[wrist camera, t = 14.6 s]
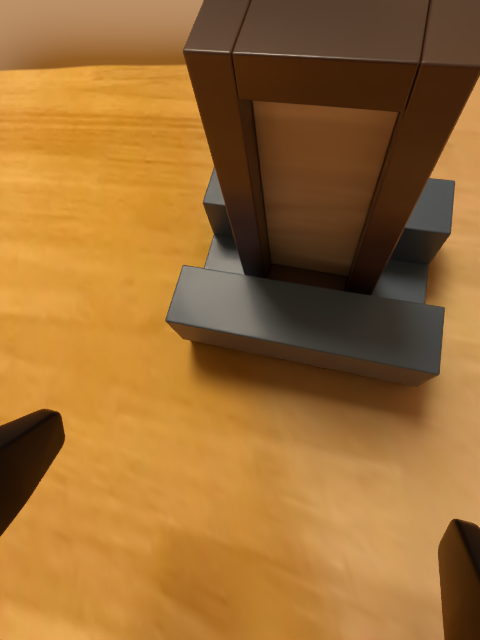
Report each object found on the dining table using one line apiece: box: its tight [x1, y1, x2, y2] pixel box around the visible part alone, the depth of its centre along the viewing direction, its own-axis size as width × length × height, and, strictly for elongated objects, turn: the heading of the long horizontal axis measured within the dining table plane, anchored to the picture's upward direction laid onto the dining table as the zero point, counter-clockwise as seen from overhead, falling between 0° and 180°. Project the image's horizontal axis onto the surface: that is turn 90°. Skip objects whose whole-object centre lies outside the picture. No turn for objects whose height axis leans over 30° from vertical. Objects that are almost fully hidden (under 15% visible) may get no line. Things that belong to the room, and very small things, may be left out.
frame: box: [183, 0, 480, 295], centre depth 14 cm, size 2×6×13 cm, turn 75°
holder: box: [166, 167, 455, 387], centre depth 20 cm, size 10×12×4 cm
